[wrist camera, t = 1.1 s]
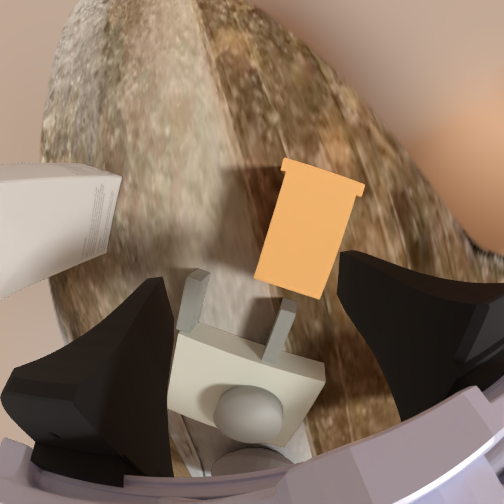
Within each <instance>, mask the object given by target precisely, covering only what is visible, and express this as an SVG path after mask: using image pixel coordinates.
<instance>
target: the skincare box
mask: <svg viewBox="0 0 504 504" xmlns="http://www.w3.org/2000/svg"><path fill="white" fill-rule="evenodd" d="M121 180H122V177H121V176H119V175H116V174H113V173H110V172H107V171H104V170H101V169H98V168H95V167H91V166H88V165H85V164H81V163H17V164H16V163H15V164H0V300H1V299H3V298H5V297H7V296H9V295H11V294H13V293H15V292H17V291H20V290H22V289H23V288H26V287H28V286H30V285H32V284H34V283H37V282H39V281H41V280H44V279H46V278H48V277H50V276H52V275H55V274H57V273H59V272H62V271H64V270H66V269H69V268H71V267H73V266H76V265H78V264H81V263H83V262H86V261H88V260H90V259H93V258H95V257H98V256H100V255H103V254H105V253H107V247H108V241H109V235H110V230H111V225H112V220H113V215H114V210H115V205H116V201H117V196H118V192H119V188H120V184H121Z"/></svg>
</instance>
